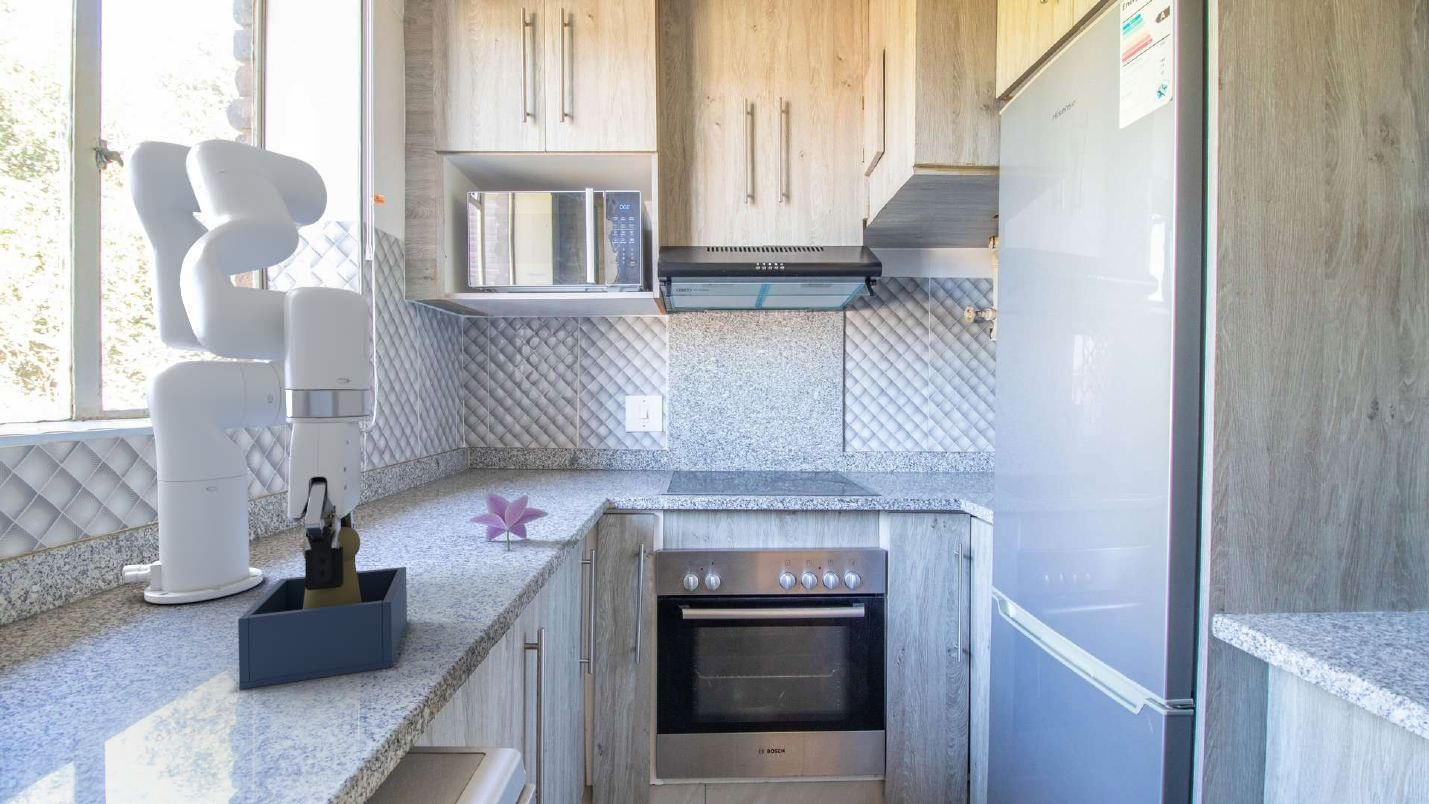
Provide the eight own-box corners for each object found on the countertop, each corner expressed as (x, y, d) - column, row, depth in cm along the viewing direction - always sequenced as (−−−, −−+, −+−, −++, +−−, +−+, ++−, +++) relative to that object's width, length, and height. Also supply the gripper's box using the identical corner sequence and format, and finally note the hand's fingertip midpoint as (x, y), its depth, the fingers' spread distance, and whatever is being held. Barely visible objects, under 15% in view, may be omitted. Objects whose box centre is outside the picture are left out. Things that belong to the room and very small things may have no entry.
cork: (286, 636, 63) (284, 531, 63) (344, 616, 68) (343, 520, 68) (319, 648, 60) (318, 538, 60) (378, 627, 66) (376, 526, 65)
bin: (239, 689, 56) (237, 619, 56) (281, 637, 68) (280, 578, 68) (392, 667, 61) (391, 601, 60) (407, 621, 72) (406, 566, 72)
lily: (557, 547, 110) (550, 497, 113) (526, 536, 99) (519, 481, 103) (497, 565, 111) (492, 515, 115) (459, 557, 100) (455, 502, 104)
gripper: (309, 405, 70) (311, 560, 71) (257, 411, 54) (261, 612, 55) (382, 404, 73) (384, 554, 73) (353, 410, 57) (356, 601, 57)
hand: (331, 577), depth 64 cm, fingers closed on cork, 5 cm apart
